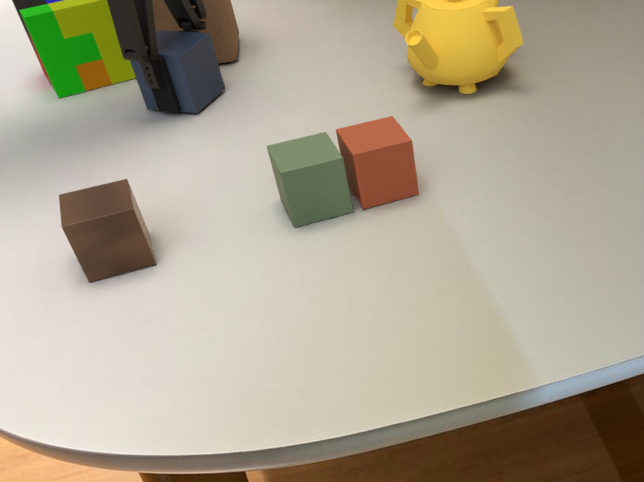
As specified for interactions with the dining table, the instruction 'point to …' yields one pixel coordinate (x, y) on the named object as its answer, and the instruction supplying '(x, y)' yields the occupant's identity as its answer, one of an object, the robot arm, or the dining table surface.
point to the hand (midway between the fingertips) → (186, 96)
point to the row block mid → (310, 179)
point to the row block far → (378, 161)
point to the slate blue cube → (186, 69)
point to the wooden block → (207, 26)
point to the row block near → (106, 230)
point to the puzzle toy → (74, 43)
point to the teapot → (457, 39)
